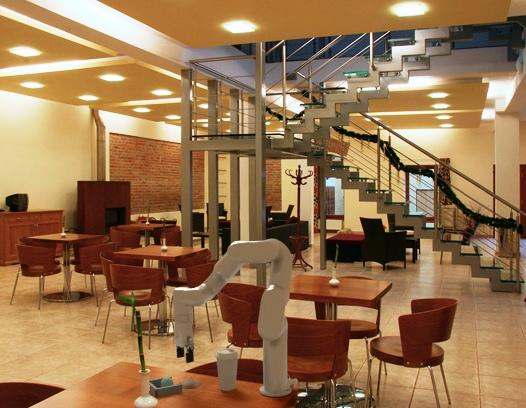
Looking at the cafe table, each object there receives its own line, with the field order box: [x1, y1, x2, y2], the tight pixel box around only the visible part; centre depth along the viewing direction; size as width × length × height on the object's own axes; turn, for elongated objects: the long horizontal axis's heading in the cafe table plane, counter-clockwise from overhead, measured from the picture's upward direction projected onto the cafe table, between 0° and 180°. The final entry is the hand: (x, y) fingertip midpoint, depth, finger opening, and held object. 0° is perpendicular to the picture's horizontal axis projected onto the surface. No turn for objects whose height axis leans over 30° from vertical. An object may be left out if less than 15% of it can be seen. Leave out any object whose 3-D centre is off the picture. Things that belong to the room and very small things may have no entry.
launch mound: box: [179, 378, 203, 390], centre depth 223 cm, size 14×14×14 cm
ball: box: [160, 376, 174, 388], centre depth 217 cm, size 5×5×5 cm
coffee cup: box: [214, 347, 240, 392], centre depth 218 cm, size 10×10×15 cm
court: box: [148, 375, 183, 398], centre depth 217 cm, size 11×12×3 cm
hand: (185, 359), depth 221 cm, fingers open, 9 cm apart
